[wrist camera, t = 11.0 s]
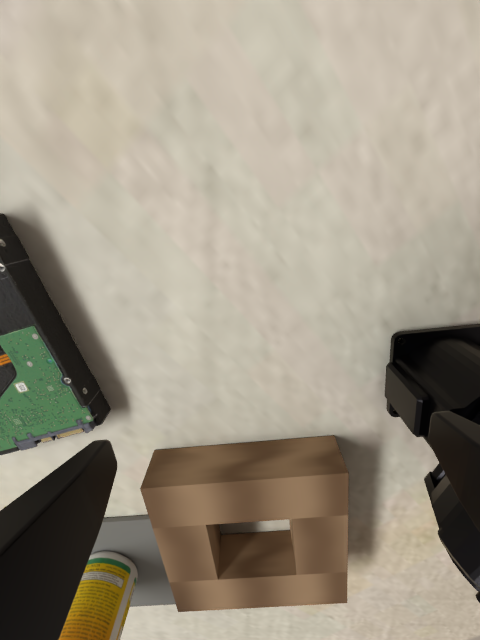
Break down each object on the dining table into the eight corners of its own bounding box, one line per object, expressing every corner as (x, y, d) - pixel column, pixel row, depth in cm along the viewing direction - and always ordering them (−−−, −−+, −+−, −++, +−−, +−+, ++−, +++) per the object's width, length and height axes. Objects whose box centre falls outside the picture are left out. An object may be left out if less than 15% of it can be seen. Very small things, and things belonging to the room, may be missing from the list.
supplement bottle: (148, 580, 29) (105, 747, 20) (97, 590, 30) (33, 756, 21) (124, 543, 27) (66, 709, 18) (71, 554, 28) (-11, 719, 19)
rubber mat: (160, 514, 27) (159, 518, 26) (184, 598, 31) (184, 603, 30) (28, 523, 27) (25, 527, 27) (69, 605, 31) (67, 610, 31)
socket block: (334, 435, 23) (348, 473, 20) (335, 556, 28) (347, 602, 25) (154, 450, 24) (140, 488, 21) (185, 565, 29) (178, 611, 26)
